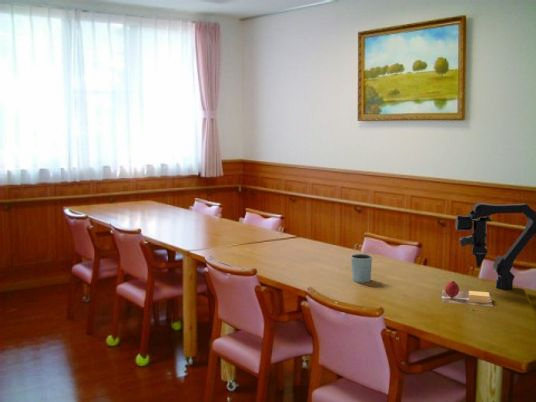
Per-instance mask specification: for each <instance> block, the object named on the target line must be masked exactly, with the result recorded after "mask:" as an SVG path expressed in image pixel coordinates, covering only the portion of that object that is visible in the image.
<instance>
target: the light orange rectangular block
mask: <svg viewBox="0 0 536 402" xmlns="http://www.w3.org/2000/svg"><path fill="white" fill-rule="evenodd" d="M468 292H469V302H479V303H489V294H490V292H487V291H475V290H469V291H468Z"/></svg>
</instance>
